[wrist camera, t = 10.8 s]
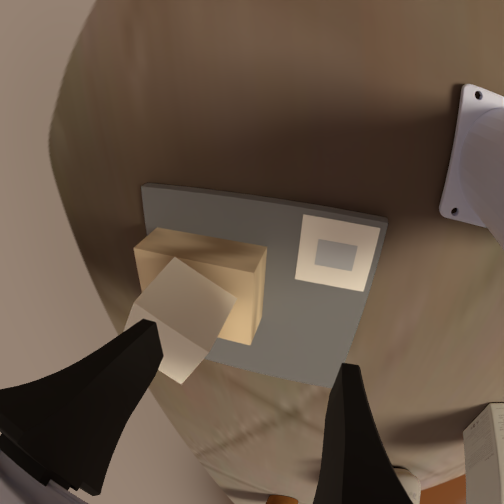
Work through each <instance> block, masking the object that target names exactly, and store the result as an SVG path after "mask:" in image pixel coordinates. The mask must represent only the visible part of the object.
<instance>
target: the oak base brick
mask: <svg viewBox="0 0 504 504" xmlns="http://www.w3.org/2000/svg"><path fill="white" fill-rule="evenodd" d="M134 254H135V259H136V265H137V270H138V275H139V280H140V285H141V290H142V292H143V291H144V290H145V289H146V288H147V287H148V286H149V284H150V283H151V282H152V281H153V280H154V279H155V278H156V277H157V275H158V274H159V273H160V272H161V271H162V270H163V269H164V268H165V267H166V265H167V264H168V263H169V262H170V261H171V260H172V259H173V258H174V257H176V258H177V259H179V260H180V261H182V262H183V263H185V264H186V265H188V266H189V267H191V268H192V269H194V270H195V271H197V272H198V273H200V274H201V275H203V276H204V277H206V278H207V279H209V280H210V281H212V282H213V283H215V284H216V285H218V286H219V287H221V288H222V289H224V290H225V291H227V292H229V293H230V294H232V295H233V296H235V297H236V298H237V300H236V302H235V304H234V306H233V308H232V310H231V312H230V314H229V316H228V317H227V319H226V321H225V323H224V325H223V327H222V329H221V331H220V333H219V335H218V338H222V339H226V340H230V341H234V342H238V343H242V344H246V345H251V343H252V340H253V338H254V335H255V333H256V330H257V328H258V325H259V323H260V320H261V318H262V310H263V297H264V284H265V270H266V257H267V247H266V246H260V245H255V244H249V243H243V242H238V241H232V240H226V239H221V238H215V237H209V236H204V235H198V234H192V233H187V232H181V231H175V230H169V229H163V228H158V227H157V228H156V229H155V230H153V231H152V232H151V233H150V234H149V235H148V236H146V237H145V238H144V239H143V240H142V241H141V242H140V243H138V244H137V245H136V246H135V247H134Z"/></svg>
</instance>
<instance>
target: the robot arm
mask: <svg viewBox="0 0 504 504" xmlns="http://www.w3.org/2000/svg"><path fill="white" fill-rule="evenodd" d="M476 91H478V92H479V94H480V98H479V99H478V100H477V99H476V97H475V92H476ZM453 208H457V211H456V212H455V213H451V210H452V209H453ZM439 211H440V213H441V215H442V216H443V217H445V218H449V219H453V220H457V221H461V222H465V223H469V224H473V225H477V226H481V227H485V228H488V229H489V231H490V232H491V233H492V235H493V236H494V237H495V239H496V240H497V242H498V243H499V244H500V246H501V247H502V249H503V250H504V97H503V96H501V95H498V94H496V93H494V92H491V91H488V90H486V89H483V88H481V87H478V86H475V85H472V84H465V85H463V86H462V89H461V96H460V104H459V112H458V119H457V125H456V131H455V137H454V143H453V148H452V153H451V158H450V163H449V168H448V172H447V177H446V181H445V185H444V189H443V193H442V197H441V201H440V205H439ZM163 356H164V355H163V350H162V346H161V342H160V338H159V333H158V329H157V324H156V322H154V321H150V320H147V319H144V318H143V319H142V320H140V321H139V322H137V323H136V324H134V325H133V326H132V327H130V328H129V329H127V330H126V331H124V332H123V333H122V334H120V335H119V336H117V337H116V338H114V339H113V340H112V341H110V342H109V343H107V344H106V345H104V346H103V347H101V348H100V349H98V350H97V351H95V352H93V353H92V354H90V355H88V356H87V357H85V358H83V359H82V360H80V361H79V362H76V363H75V364H73V365H71V366H69V367H67V368H65V369H63V370H61V371H58V372H56V373H54V374H51V375H49V376H46V377H44V378H41V379H39V380H36V381H33V382H30V383H26V384H23V385H19V386H15V387H10V388H5V389H1V390H0V432H1V433H2V434H1V436H0V504H88V503H86V502H85V501H83V500H81V499H80V498H78V497H77V496H75V495H73V494H72V493H70V492H69V491H68V489H69V488H70V487H71V488H73V489H74V490H75V491H77V490H78V489H79V488H80V489H82V490H84V491H85V492H87V493H88V494H90V495H92V496H96V495H99V494H100V493H101V489H102V486H103V482H104V479H105V475H106V472H107V469H108V466H109V463H110V461H111V458H112V455H113V453H114V450H115V448H116V445H117V443H118V440H119V438H120V436H121V433H122V431H123V429H124V427H125V425H126V423H127V421H128V419H129V417H130V415H131V414H132V412H133V411H134V409H135V408H136V406H137V404H138V403H139V401H140V400H141V398H142V396H143V395H144V393H145V391H146V390H147V388H148V387H149V385H150V383H151V382H152V380H153V378H154V377H155V375H156V372H157V370H158V368H159V366H160V363H161V361H162V359H163ZM313 504H413V502H412V501H411V499H410V497H409V496H408V494H407V492H406V491H405V489H404V487H403V485H402V484H401V482H400V480H399V478H398V477H397V475H396V473H395V471H394V469H393V467H392V465H391V462H390V460H389V458H388V456H387V454H386V451H385V449H384V446H383V444H382V441H381V439H380V436H379V433H378V431H377V428H376V425H375V422H374V419H373V416H372V413H371V410H370V406H369V403H368V400H367V396H366V392H365V388H364V384H363V380H362V375H361V370H360V367H359V366H358V365H354V364H347V363H342V364H341V366H340V369H339V372H338V374H337V377H336V380H335V382H334V385H333V387H332V390H331V392H330V395H329V401H328V407H327V412H326V418H325V429H324V440H323V451H322V461H321V470H320V476H319V481H318V485H317V489H316V494H315V498H314V501H313Z"/></svg>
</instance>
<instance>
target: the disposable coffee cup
mask: <svg viewBox="0 0 504 504" xmlns="http://www.w3.org/2000/svg"><path fill="white" fill-rule="evenodd" d="M266 504H298V500H296V499H294V498H291V497H287V496H281V495H270V496H269V498H268V500H267V502H266Z"/></svg>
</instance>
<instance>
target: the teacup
mask: <svg viewBox="0 0 504 504" xmlns="http://www.w3.org/2000/svg"><path fill="white" fill-rule="evenodd" d="M393 469H394V471H395V473H396V475H397V477H398V478H399V480H400V482H401V484H402V485H403V487H404V489H405V491H406V492H407V494H408V496H409V497H410V499H411V501H412V502H413V504H419V502H420V482H419V479H418V478H417V477H416V476H414V475H413V474H411V472H410V471H408V470H405V469H399V468H393Z"/></svg>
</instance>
